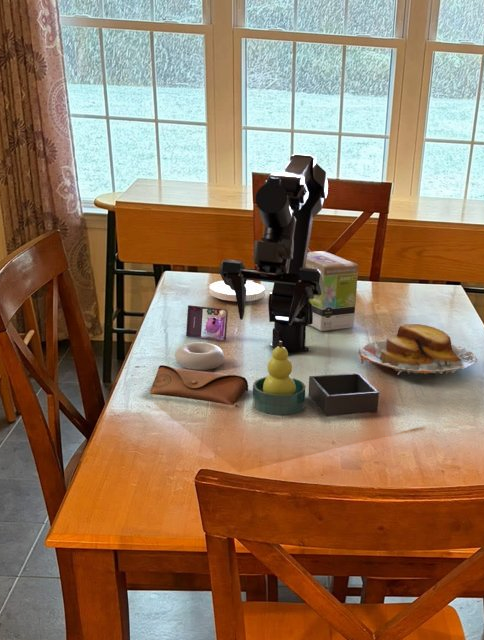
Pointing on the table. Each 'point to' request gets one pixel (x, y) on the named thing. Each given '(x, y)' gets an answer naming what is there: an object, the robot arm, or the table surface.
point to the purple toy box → (212, 324)
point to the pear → (279, 373)
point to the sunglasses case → (199, 385)
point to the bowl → (278, 399)
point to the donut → (199, 356)
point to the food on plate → (418, 351)
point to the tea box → (333, 291)
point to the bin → (343, 394)
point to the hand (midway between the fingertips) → (265, 321)
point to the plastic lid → (225, 292)
